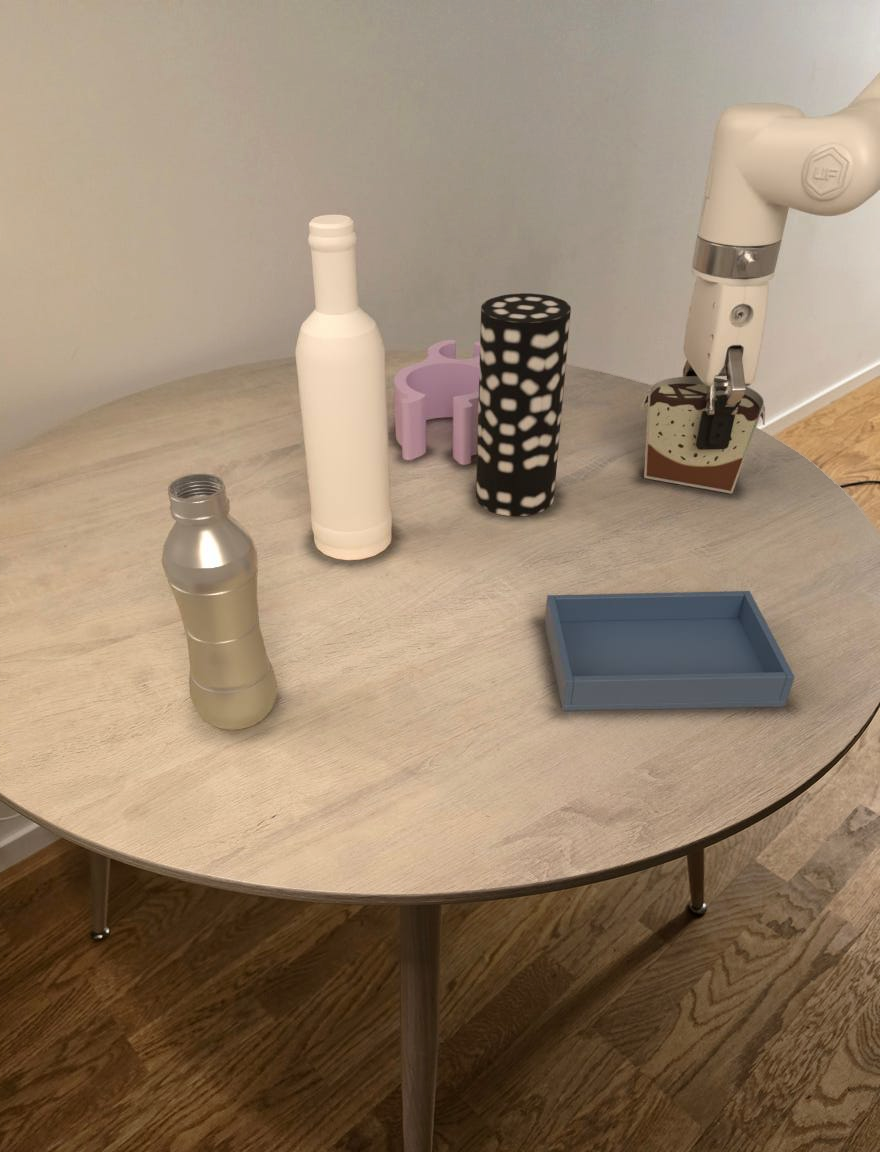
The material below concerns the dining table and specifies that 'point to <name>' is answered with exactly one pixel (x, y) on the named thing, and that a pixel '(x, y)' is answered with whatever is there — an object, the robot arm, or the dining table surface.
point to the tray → (664, 651)
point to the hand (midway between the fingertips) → (701, 429)
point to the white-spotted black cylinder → (520, 401)
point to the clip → (438, 400)
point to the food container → (695, 435)
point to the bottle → (343, 403)
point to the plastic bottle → (218, 604)
